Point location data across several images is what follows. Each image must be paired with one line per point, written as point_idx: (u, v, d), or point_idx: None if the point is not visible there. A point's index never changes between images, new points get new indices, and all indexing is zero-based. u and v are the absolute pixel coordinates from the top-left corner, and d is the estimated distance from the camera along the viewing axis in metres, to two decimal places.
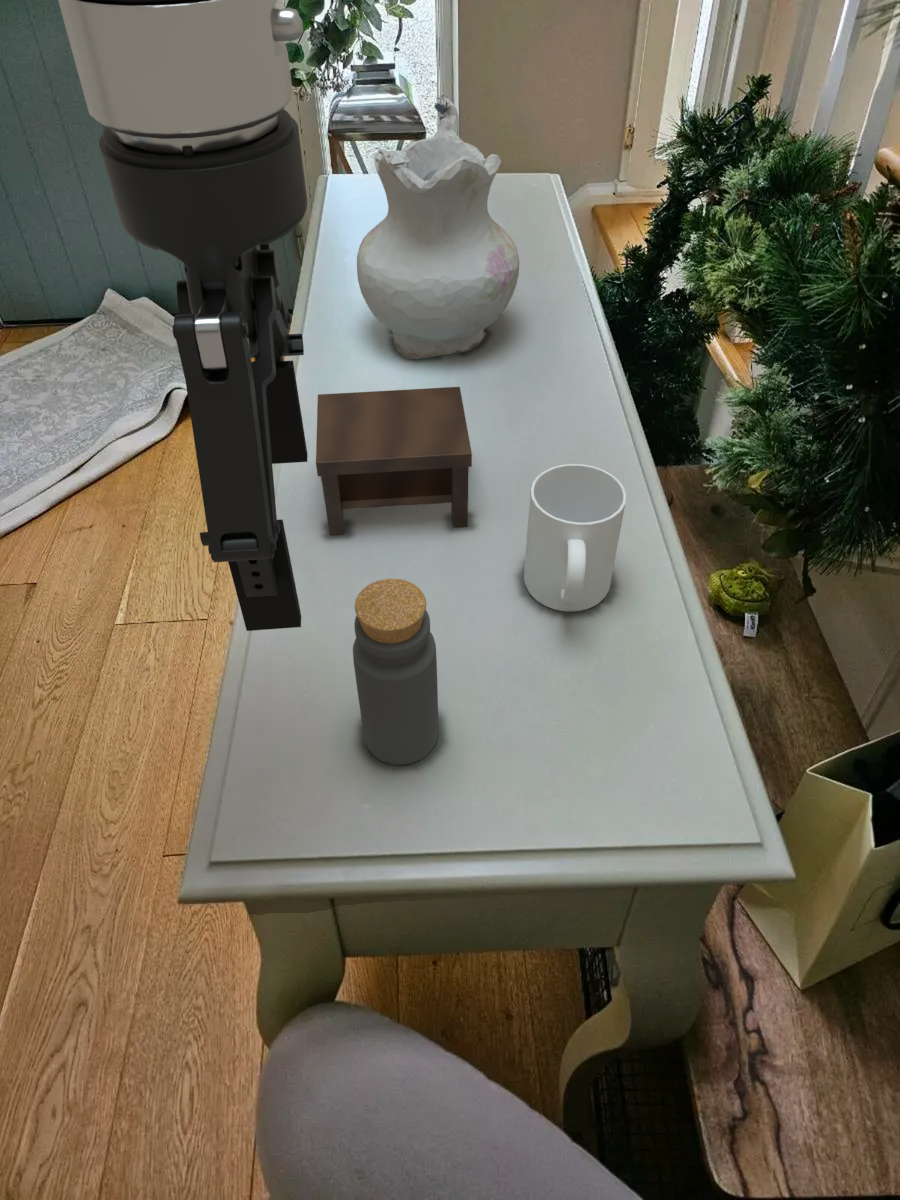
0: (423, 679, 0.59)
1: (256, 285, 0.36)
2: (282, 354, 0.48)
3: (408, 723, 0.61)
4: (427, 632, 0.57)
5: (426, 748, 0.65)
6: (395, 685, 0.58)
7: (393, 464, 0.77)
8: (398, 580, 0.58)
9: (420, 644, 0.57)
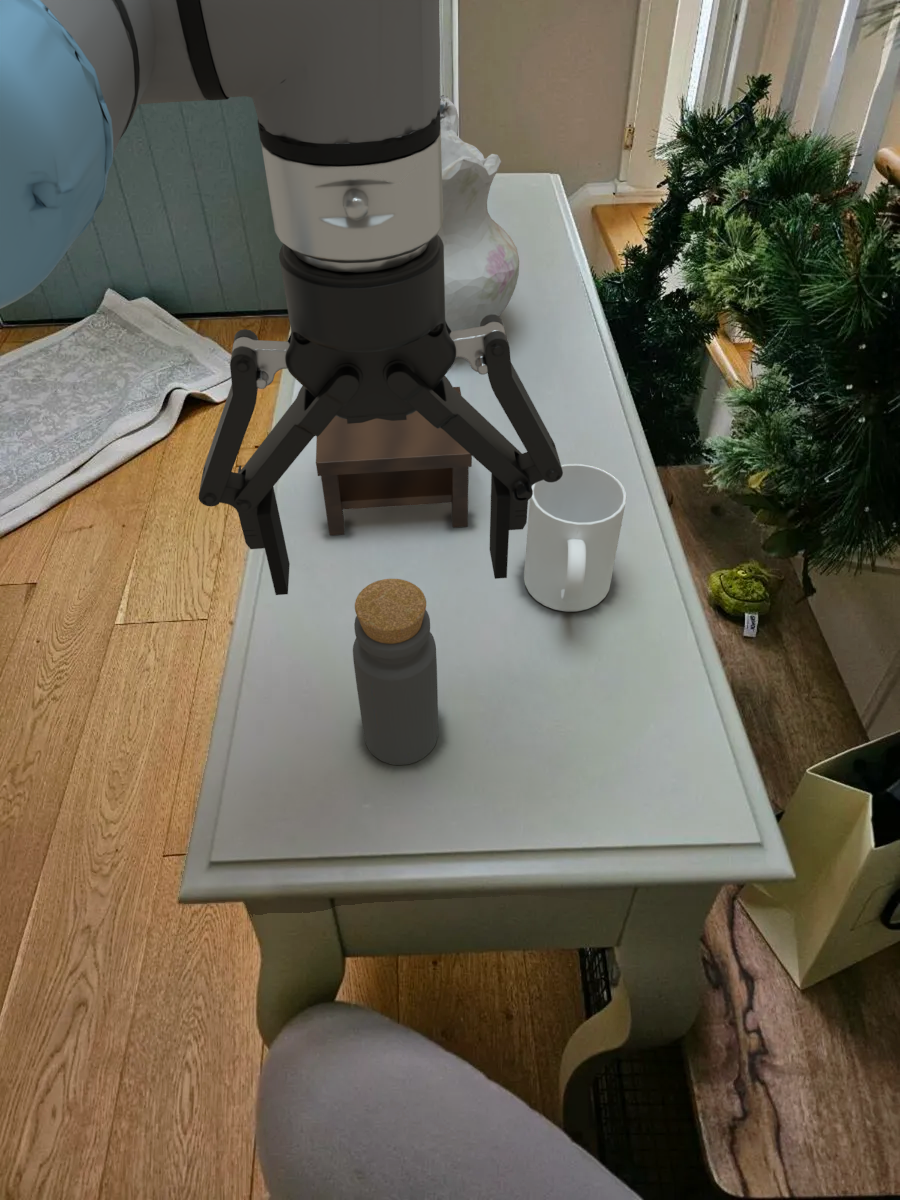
0: (423, 679, 0.59)
1: (338, 371, 0.42)
2: None
3: (408, 723, 0.61)
4: (427, 632, 0.57)
5: (426, 748, 0.65)
6: (395, 685, 0.58)
7: (393, 464, 0.77)
8: (398, 580, 0.58)
9: (420, 644, 0.57)
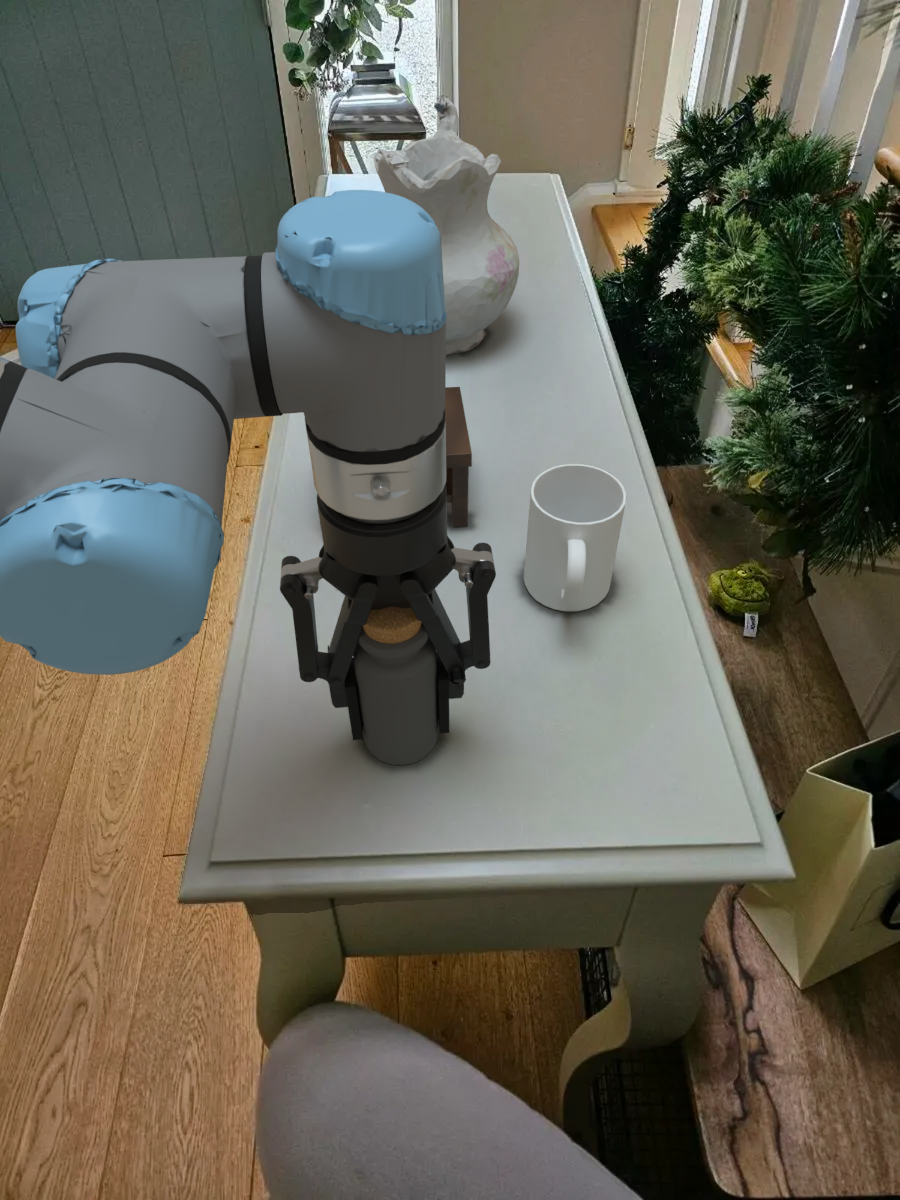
0: (423, 679, 0.59)
1: (361, 577, 0.52)
2: None
3: (408, 724, 0.61)
4: None
5: (426, 748, 0.65)
6: (395, 685, 0.58)
7: None
8: None
9: (420, 644, 0.57)
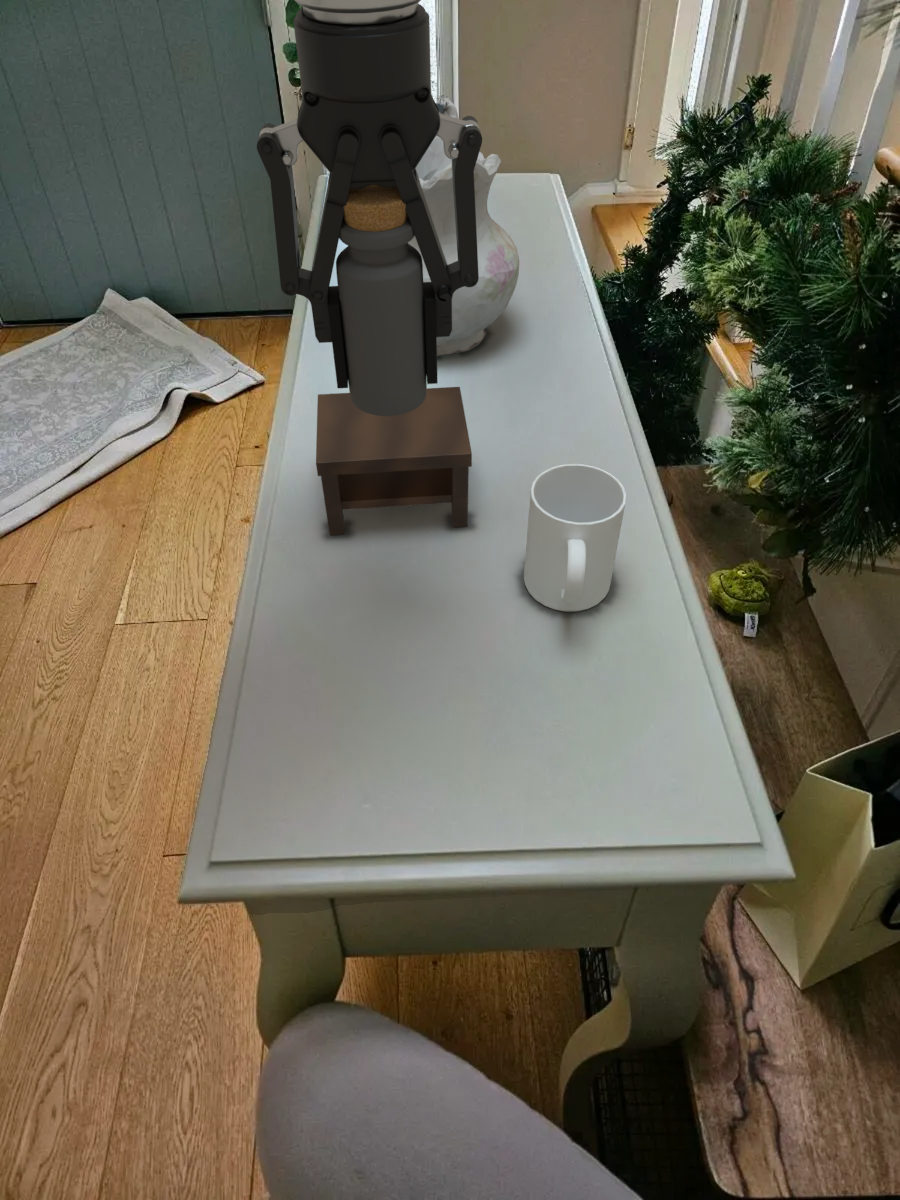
0: (408, 288, 0.57)
1: (341, 132, 0.50)
2: None
3: (393, 352, 0.59)
4: None
5: (413, 397, 0.63)
6: (379, 289, 0.56)
7: (393, 464, 0.77)
8: None
9: (404, 237, 0.54)
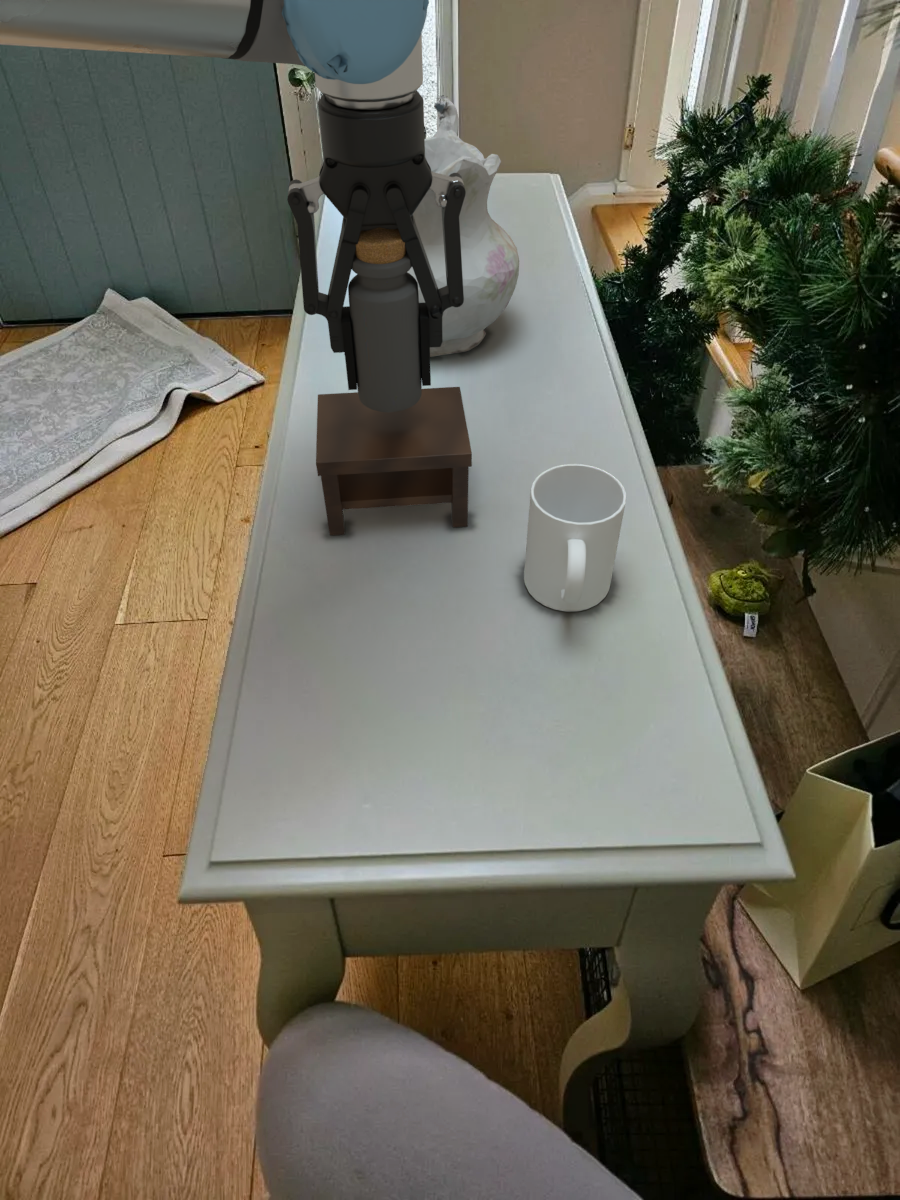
0: (407, 308, 0.70)
1: (354, 188, 0.64)
2: None
3: (395, 360, 0.73)
4: None
5: (411, 397, 0.76)
6: (383, 310, 0.69)
7: (393, 464, 0.77)
8: None
9: (404, 268, 0.68)
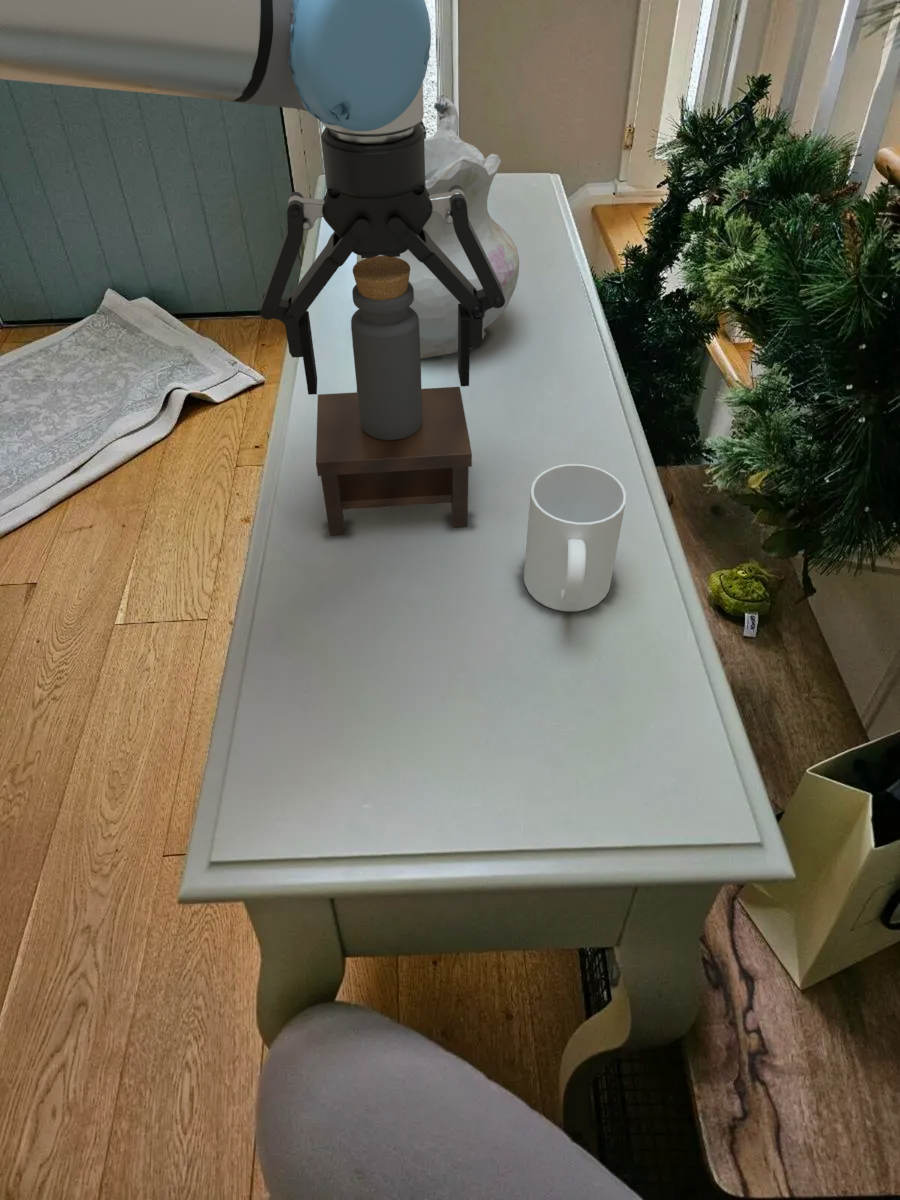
0: (408, 342, 0.72)
1: (356, 217, 0.65)
2: None
3: (396, 390, 0.75)
4: (411, 296, 0.71)
5: (412, 425, 0.78)
6: (385, 343, 0.71)
7: (393, 464, 0.77)
8: None
9: (405, 303, 0.70)
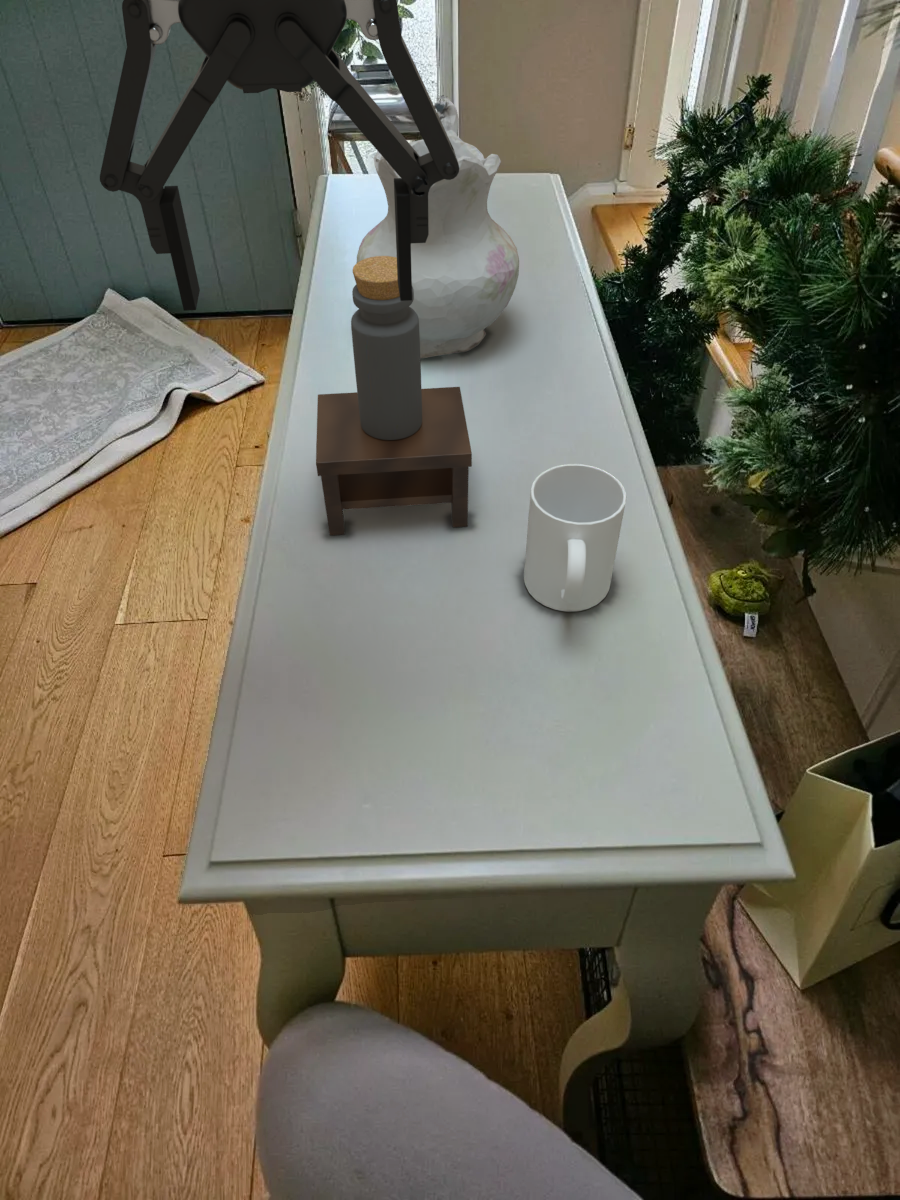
0: (408, 342, 0.72)
1: (229, 21, 0.43)
2: (408, 184, 0.50)
3: (396, 390, 0.75)
4: None
5: (412, 425, 0.78)
6: (385, 343, 0.71)
7: (393, 464, 0.77)
8: (388, 256, 0.71)
9: (405, 303, 0.70)
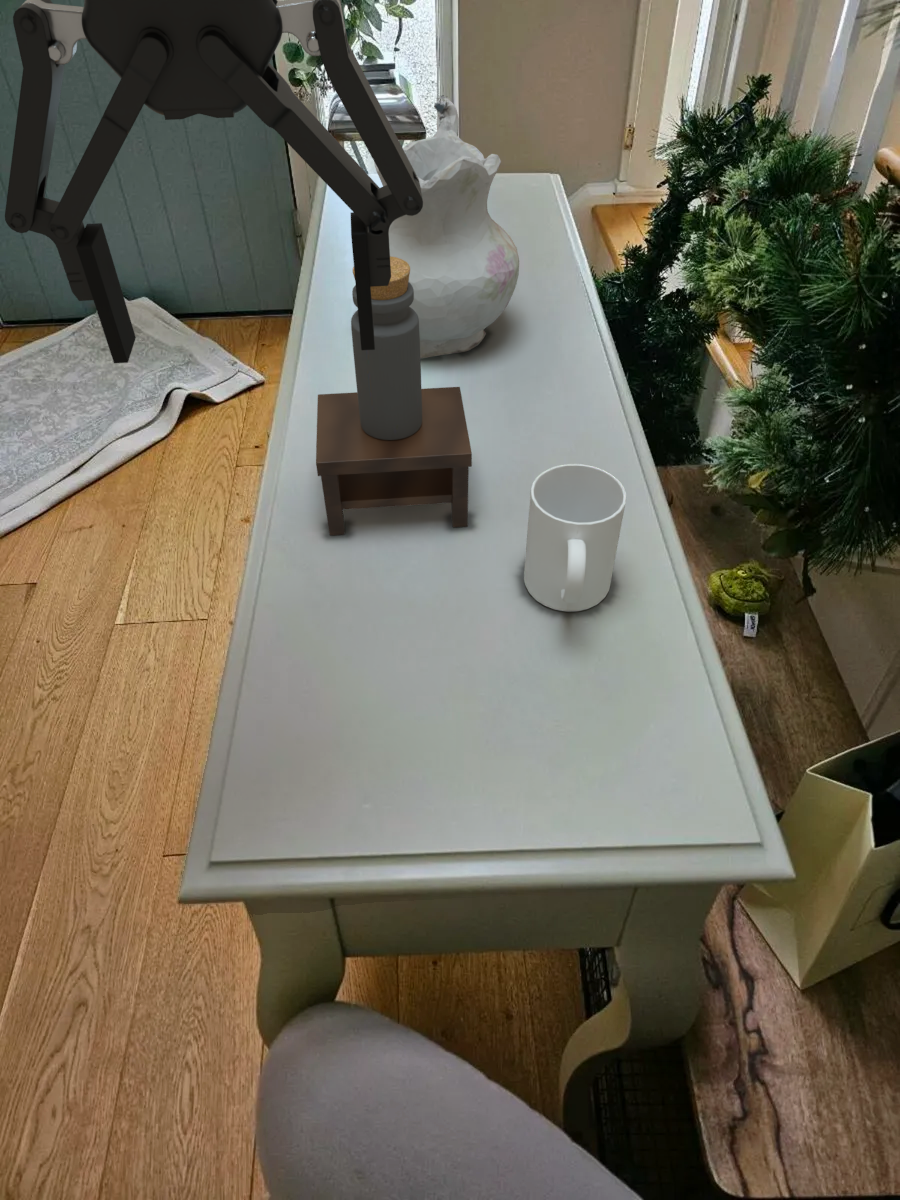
0: (408, 342, 0.72)
1: (142, 37, 0.36)
2: None
3: (396, 390, 0.75)
4: (411, 296, 0.71)
5: (412, 425, 0.78)
6: (385, 343, 0.71)
7: (393, 464, 0.77)
8: None
9: (405, 303, 0.70)
